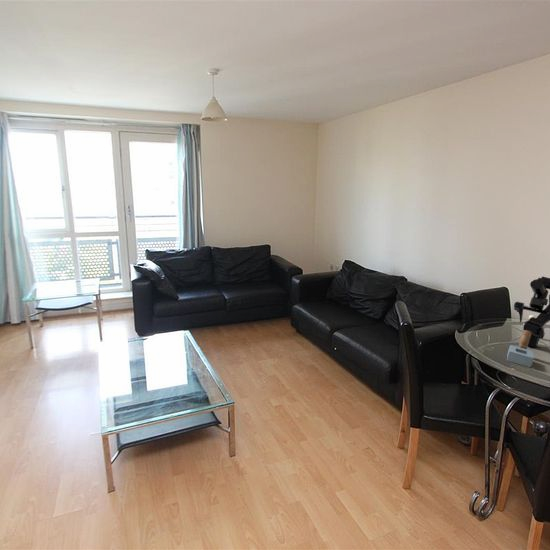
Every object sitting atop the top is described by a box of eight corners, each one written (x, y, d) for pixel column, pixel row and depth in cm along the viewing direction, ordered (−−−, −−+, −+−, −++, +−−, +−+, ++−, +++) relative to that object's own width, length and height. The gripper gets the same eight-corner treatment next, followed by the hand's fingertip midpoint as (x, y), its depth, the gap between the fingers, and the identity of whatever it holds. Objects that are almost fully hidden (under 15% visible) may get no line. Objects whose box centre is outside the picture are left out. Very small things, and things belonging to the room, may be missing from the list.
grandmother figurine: (530, 334, 224) (536, 314, 221) (535, 337, 221) (541, 316, 217) (518, 333, 224) (524, 313, 221) (522, 335, 220) (528, 315, 217)
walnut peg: (520, 353, 194) (527, 330, 191) (526, 356, 191) (533, 332, 188) (514, 353, 194) (521, 329, 190) (520, 356, 190) (527, 332, 187)
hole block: (507, 353, 192) (510, 344, 191) (530, 360, 187) (533, 351, 185) (506, 360, 184) (509, 351, 182) (530, 367, 179) (533, 358, 177)
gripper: (518, 287, 195) (509, 313, 191) (562, 295, 183) (553, 324, 179) (518, 296, 203) (510, 321, 199) (561, 305, 191) (552, 332, 187)
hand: (530, 324), depth 191 cm, fingers open, 9 cm apart
